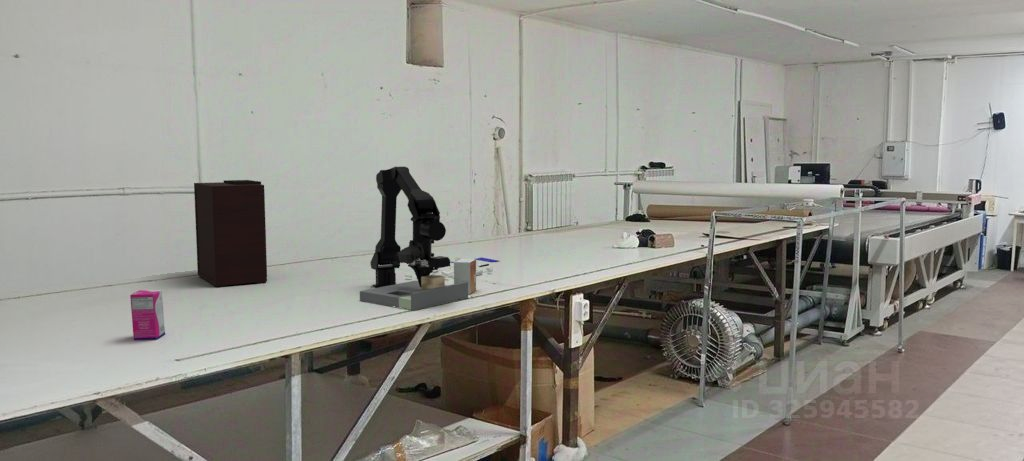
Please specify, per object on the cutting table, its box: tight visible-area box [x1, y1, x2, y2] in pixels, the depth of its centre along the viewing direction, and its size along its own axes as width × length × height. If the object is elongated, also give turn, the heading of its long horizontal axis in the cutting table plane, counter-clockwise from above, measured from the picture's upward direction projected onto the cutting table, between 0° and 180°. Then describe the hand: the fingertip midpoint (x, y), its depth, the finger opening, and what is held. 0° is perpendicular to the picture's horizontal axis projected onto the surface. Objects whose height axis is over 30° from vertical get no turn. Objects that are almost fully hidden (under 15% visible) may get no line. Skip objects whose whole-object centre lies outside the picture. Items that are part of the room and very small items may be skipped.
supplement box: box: [129, 289, 166, 341], centre depth 190 cm, size 6×6×12 cm
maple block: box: [421, 274, 446, 291], centre depth 234 cm, size 5×5×5 cm
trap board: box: [359, 280, 469, 311], centre depth 239 cm, size 23×24×5 cm
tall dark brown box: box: [193, 179, 268, 288], centre depth 272 cm, size 19×27×35 cm
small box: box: [453, 258, 477, 295], centre depth 251 cm, size 8×6×10 cm
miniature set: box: [404, 256, 494, 278], centre depth 282 cm, size 6×35×12 cm
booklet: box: [450, 256, 499, 264], centre depth 316 cm, size 12×25×1 cm, turn 130°
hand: (421, 287), depth 236 cm, fingers closed
